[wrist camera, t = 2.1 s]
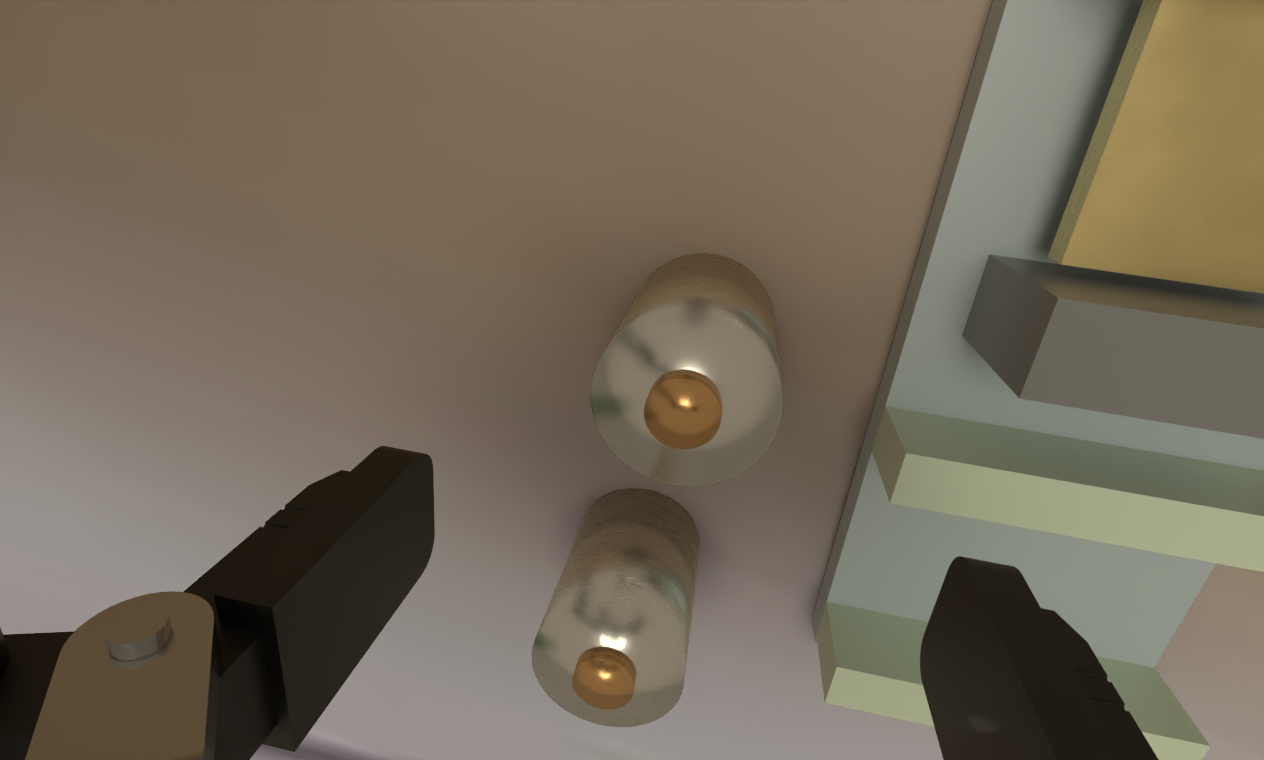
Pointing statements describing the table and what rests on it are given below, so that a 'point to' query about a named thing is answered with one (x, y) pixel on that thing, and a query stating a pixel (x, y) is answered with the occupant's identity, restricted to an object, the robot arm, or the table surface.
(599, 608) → the cell
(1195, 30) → the plate
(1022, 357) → the grey piece
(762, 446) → the cell
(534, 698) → the table surface
